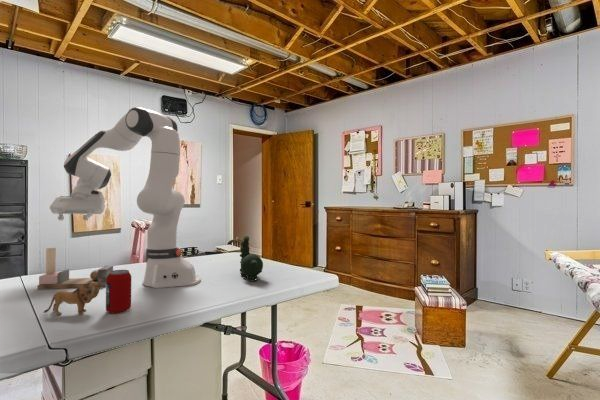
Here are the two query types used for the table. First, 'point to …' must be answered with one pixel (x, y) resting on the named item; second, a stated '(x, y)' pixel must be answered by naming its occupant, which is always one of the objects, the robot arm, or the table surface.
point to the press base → (82, 280)
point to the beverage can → (118, 291)
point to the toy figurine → (249, 262)
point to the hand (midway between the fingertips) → (72, 219)
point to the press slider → (52, 270)
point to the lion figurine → (75, 297)
